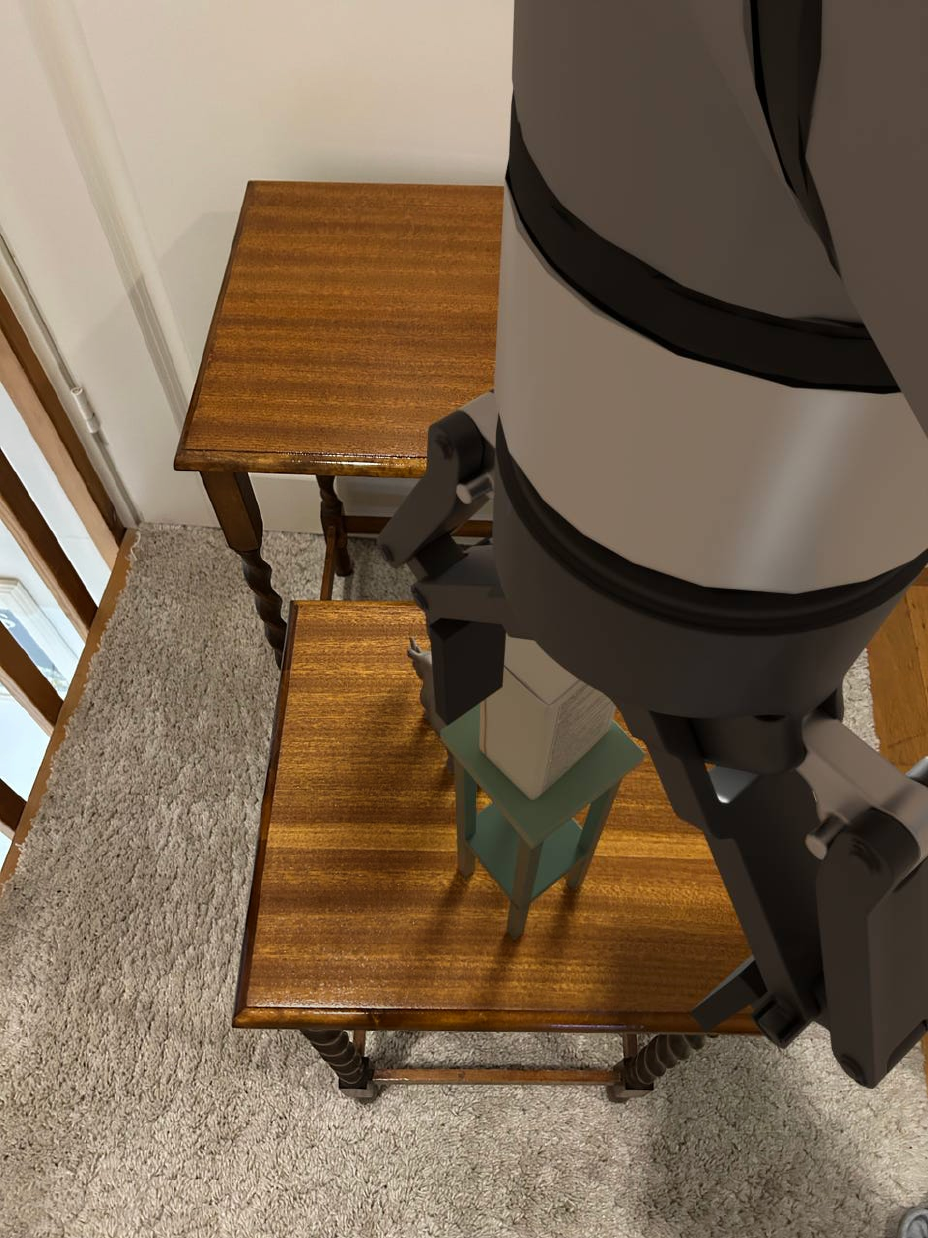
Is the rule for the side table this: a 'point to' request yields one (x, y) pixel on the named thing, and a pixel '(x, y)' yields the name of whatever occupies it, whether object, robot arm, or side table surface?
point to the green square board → (561, 798)
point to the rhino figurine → (428, 691)
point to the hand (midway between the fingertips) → (587, 835)
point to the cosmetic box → (540, 719)
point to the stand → (524, 848)
